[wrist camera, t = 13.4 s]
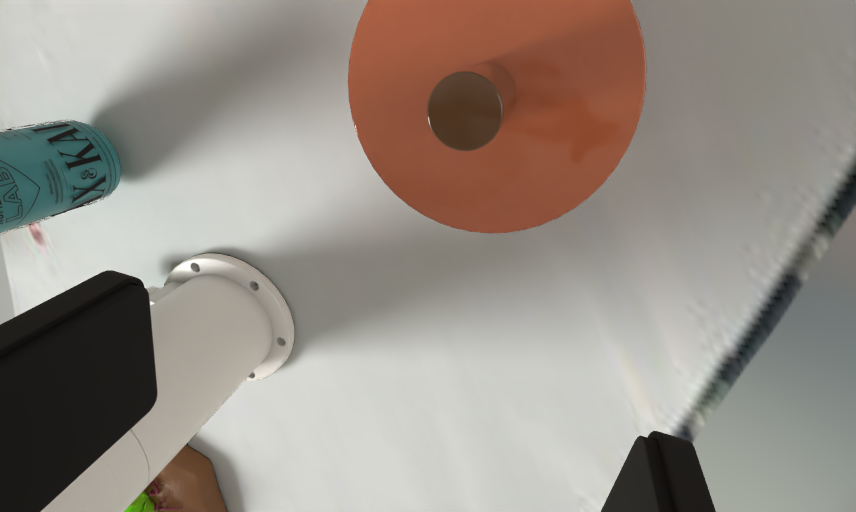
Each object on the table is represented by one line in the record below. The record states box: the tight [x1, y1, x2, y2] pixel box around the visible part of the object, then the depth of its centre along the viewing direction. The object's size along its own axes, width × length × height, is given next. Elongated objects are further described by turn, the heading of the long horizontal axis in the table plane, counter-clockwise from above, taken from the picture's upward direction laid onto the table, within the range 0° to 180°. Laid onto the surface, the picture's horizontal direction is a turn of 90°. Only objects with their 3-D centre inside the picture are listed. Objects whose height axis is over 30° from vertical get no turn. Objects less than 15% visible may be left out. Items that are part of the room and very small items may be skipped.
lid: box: [348, 0, 646, 233], centre depth 19 cm, size 13×13×6 cm
